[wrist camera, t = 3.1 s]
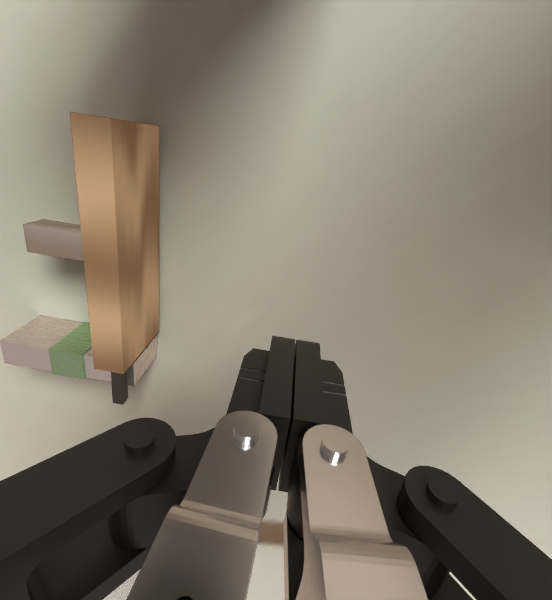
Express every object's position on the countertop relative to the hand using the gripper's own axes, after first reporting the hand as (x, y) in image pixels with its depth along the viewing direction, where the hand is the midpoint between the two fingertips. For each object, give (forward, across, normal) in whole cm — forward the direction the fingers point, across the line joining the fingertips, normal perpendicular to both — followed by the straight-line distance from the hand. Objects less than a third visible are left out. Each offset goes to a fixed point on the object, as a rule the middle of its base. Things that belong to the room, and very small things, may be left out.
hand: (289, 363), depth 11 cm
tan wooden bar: (+10, +11, +1) cm, 15 cm away
